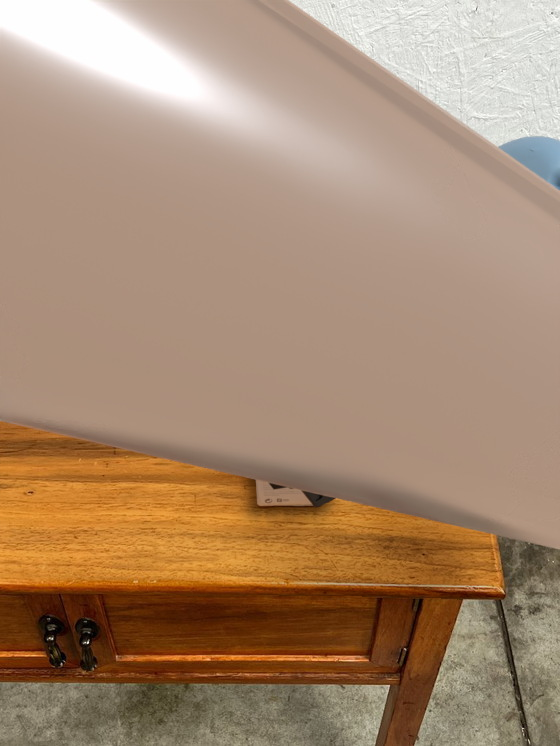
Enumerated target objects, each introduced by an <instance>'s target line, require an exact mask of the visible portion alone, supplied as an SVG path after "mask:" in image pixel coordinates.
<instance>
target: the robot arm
mask: <svg viewBox="0 0 560 746" xmlns="http://www.w3.org/2000/svg"><path fill="white" fill-rule="evenodd" d="M0 422H3V423H7V424H11V425H16V426H19V427H25V428H29V429H33V430H37V431H43V432H47V433H50V434H55V435H59V436H64V437H68V438H73V439H75V440H76V439H77V440H81V441H85V442H89V443H93V444H99V445H103V446H107V447H112V448H116V449H120V450H125V451H129V452H133V453H138V454H143V455H145V456H146V455H147V456H151V457H155V458H160V459H164V460H167V461H168V460H169V461H173V462H177V463H181V464H186V465H189V466H194V467H199V468H203V469H206V470H207V469H208V470H211V471H216V472H221V473H225V474H228V475H233V476H238V477H242V478H245V479H251V480H255V481H256V480H259V481H263V482H268V483H269V484H270V486H271V487H272V488H273V489H281V488H287V487H288V488H290V489H298V490H301V491H302V492H303V493H304V495H305V496H306V497H307V499H308V500H309V501H310V502H311V504H312V505H313V507H314V508H319V507H321V506H323V505H326V504H327V503H330V502H332V501H334V500H336V499H337V500H343V501H346V502H351V503H355V504H359V505H363V506H368V507H372V508H377V509H381V510H385V511H389V512H393V513H394V512H395V513H399V514H403V515H408V516H411V517H416V518H420V519H425V520H430V521H432V522H433V521H434V522H438V523H442V524H446V525H450V526H455V527H460V528H464V529H468V530H472V531H477V532H481V533H485V534H489V535H495V536H499V537H503V538H507V539H510V540H511V539H512V540H516V541H520V542H525V543H528V544H533V545H538V546H542V547H546V548H550V549H555V550H560V140H559V139H557V138H553V137H549V136H543V135H536V136H535V135H531V136H523V137H520V138H519V137H518V138H516V139H512V140H510V141H507V142H505V143H503V144H500V145H499V146H497V145H496V144H495V143H493V142H491V141H490V140H489V139H487V138H486V137H484V136H483V135H482V134H480V133H479V132H477V131H476V130H474V129H473V128H471V127H470V126H469V125H468V124H466V123H464V122H463V121H462V120H460V119H459V118H457V117H456V116H454V115H453V114H452V113H450V112H449V111H447V110H446V109H444V108H443V107H442V106H440V105H439V104H437V103H436V102H435V101H433V100H431V99H430V98H429V97H427V96H426V95H424V94H423V93H421V92H420V91H418V89H416V88H414V87H413V86H412V85H410V84H408V83H407V82H406V81H405V80H403V79H401V78H400V77H399V76H397V75H396V74H394V73H393V72H391V71H390V70H388V69H387V68H385V67H384V65H382V64H380V63H379V62H377V61H375V60H374V59H373V58H372V57H370V56H368V55H367V54H365V53H364V52H363V51H362V50H360V49H359V48H357V47H356V46H355V45H353V44H351V43H350V42H349V41H348V40H346V39H344V38H343V37H341V36H340V35H339V34H338V33H336V32H334V31H333V30H332V29H330V28H329V27H327V26H326V25H324V24H323V23H322V22H320V21H318V19H316V18H314V17H313V16H312V15H310V14H309V13H308V12H305V11H304V10H303V9H301V8H300V7H299V6H297V5H296V4H294V3H293V2H291V0H0Z"/></svg>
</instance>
